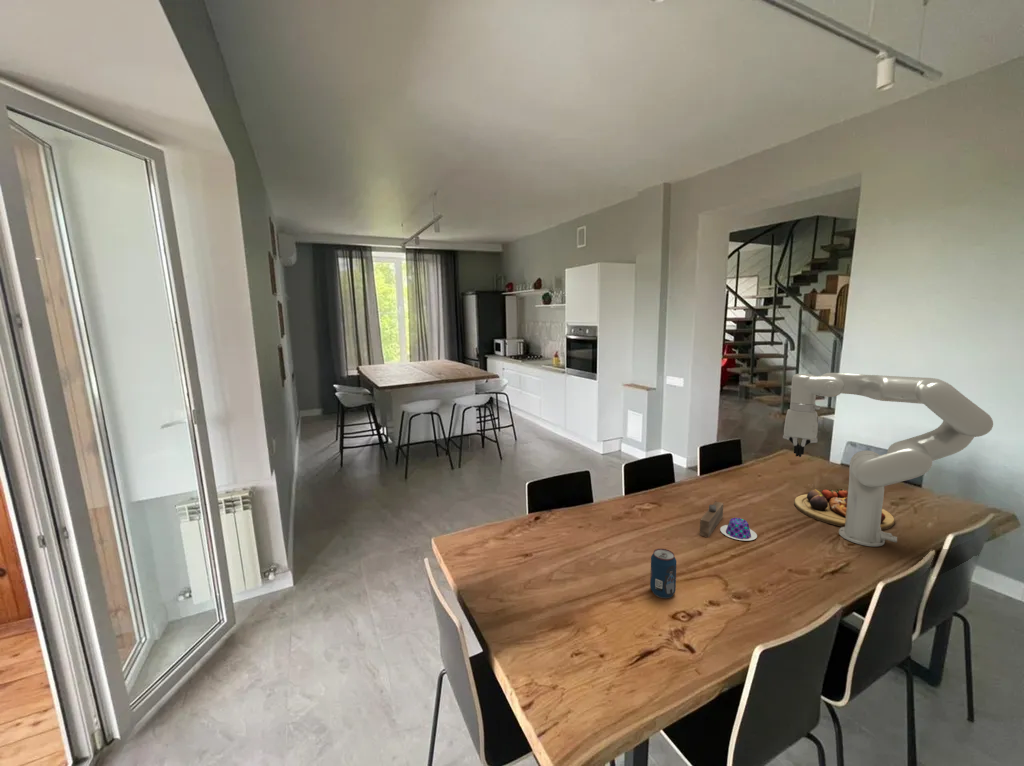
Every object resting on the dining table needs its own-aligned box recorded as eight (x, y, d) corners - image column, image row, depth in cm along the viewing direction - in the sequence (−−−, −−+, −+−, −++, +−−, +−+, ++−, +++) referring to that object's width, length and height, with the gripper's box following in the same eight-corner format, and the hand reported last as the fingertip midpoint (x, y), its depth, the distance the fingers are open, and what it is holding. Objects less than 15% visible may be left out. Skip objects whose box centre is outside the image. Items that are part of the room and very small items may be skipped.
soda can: (655, 582, 128) (656, 544, 127) (678, 590, 124) (680, 552, 122) (646, 593, 123) (647, 554, 121) (670, 603, 119) (671, 563, 117)
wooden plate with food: (918, 533, 155) (920, 511, 154) (827, 531, 156) (829, 510, 155) (853, 498, 186) (854, 480, 185) (778, 497, 188) (779, 479, 187)
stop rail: (722, 517, 169) (723, 498, 168) (708, 537, 154) (709, 516, 153) (714, 515, 171) (715, 496, 170) (699, 535, 156) (700, 514, 155)
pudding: (740, 545, 149) (741, 531, 148) (712, 530, 160) (713, 517, 159) (764, 538, 153) (765, 524, 152) (736, 524, 164) (737, 511, 163)
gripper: (828, 408, 154) (824, 456, 157) (780, 403, 164) (776, 449, 166) (826, 411, 148) (822, 462, 151) (776, 407, 158) (773, 454, 160)
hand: (798, 455), depth 159 cm, fingers closed
